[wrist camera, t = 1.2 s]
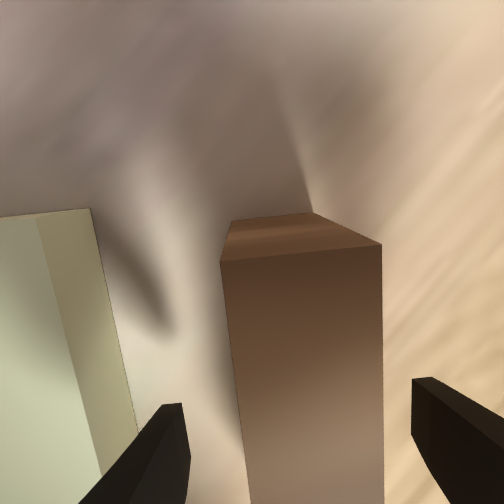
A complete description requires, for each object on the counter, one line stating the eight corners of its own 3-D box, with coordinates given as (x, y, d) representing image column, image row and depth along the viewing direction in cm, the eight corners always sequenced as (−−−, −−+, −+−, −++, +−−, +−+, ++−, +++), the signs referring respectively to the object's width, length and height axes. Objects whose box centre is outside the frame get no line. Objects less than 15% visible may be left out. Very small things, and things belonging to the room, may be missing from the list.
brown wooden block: (328, 475, 14) (386, 679, 8) (261, 482, 14) (273, 690, 8) (312, 212, 12) (381, 244, 6) (230, 220, 12) (217, 261, 6)
